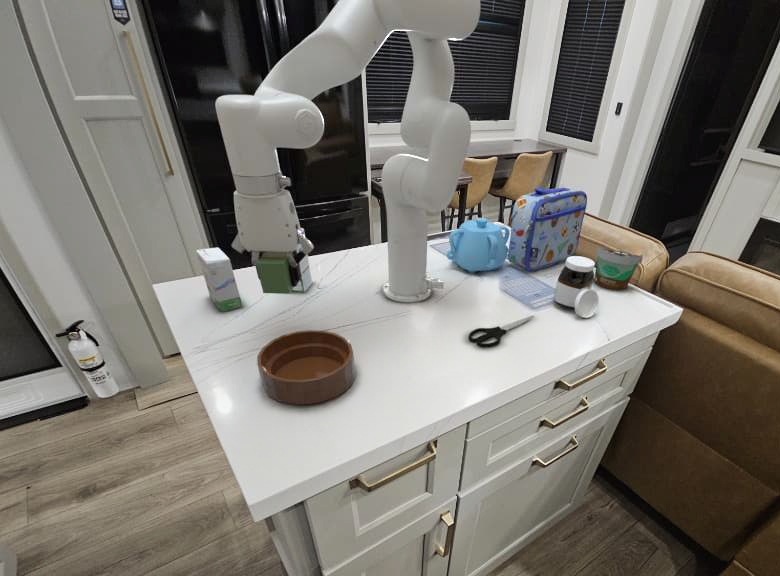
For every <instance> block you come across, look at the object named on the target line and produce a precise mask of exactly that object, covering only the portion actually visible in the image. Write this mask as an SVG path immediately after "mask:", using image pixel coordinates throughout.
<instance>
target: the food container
mask: <svg viewBox="0 0 780 576" xmlns="http://www.w3.org/2000/svg"><path fill="white" fill-rule="evenodd" d="M596 255H597V261H596V267H595V272H594V279H593V283H594V284H595V285H597V286H599V288H602V289H605V290H609V291H623V290H626V289H627V288H628V286H629V284H630V282H631V279H632V277H633V276H634V273H635V271H636V269H637V267H638V265H640V264H641V263H642V262H643V258H644V255H643V252H642V253H641V254H640V255H637V254H631V253H629V252H625V251H622V250H610V249H605V248H602V246H601V245H599V247H598V248H597V250H596Z"/></svg>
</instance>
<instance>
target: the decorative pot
mask: <svg viewBox="0 0 780 576" xmlns="http://www.w3.org/2000/svg"><path fill="white" fill-rule="evenodd" d="M503 230H504V233H503ZM510 236H511V231H510V230H509V228H508V227H507V226H506V225H501V224H500V225H498V224H495V223H493V222H491V221H489V219H487V218H484V217H477V218H475V220H473V219H468V220H465V222H463V223H461V224H460V226H459V227H458V228H456V229H454V230H452V231H451V232H450V234H449V236H448V240H449V245H450V250H448V251H447V253H446V258H447V259H448V260H450V261H454V262H455V263H456V265H458V266H459V268H462V269H464V270H467V272H468V273H471V274H472V273H473V274H475V273H477V272H478V271H481V272H482V271H496V270H497V269H498V268H500V267H501V266H502V265H503V264H504V263H505V261H506V259H507V255H508V250H509V246H507V242H509V241H508V240H509V239H510Z"/></svg>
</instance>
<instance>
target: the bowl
mask: <svg viewBox="0 0 780 576" xmlns="http://www.w3.org/2000/svg"><path fill="white" fill-rule="evenodd" d="M354 355H355V354H354V350H353V346H352V344H351V342H349V340H347V338H345V337H344V336H342V335H340V334H338V333H335V332H331V331H326V330H316V329H315V330H313V329H312V330H311V329H309V330H299V331H293V332H290V333H287V334H284V335H280V336H278V337H275V338H274V339H272V340H270V341H269V342H268V343H267V344H266V345H263V347H262V348H261V350H260V351H259V353H258V354H257V358H256V360H257V361H256V365H257V368H258V372H259V375H260V379H261V383H262V387H263V388H264V391H266V393H267V395H269V396H270V397H272V398H273V399H274V400H277V401H279V402H283V403H287V404H291V405H310V404H316V403H322V402H325V401H327V400H330V399H333V398H336V397H338V396H339V395H340V394H342V393H343V392H345V391H346V390H348V388H349V387H350V386H351V385H352V383H353V382H354V379H355V377H356V376H355V375H356V368H355V367H356V365H355V356H354Z"/></svg>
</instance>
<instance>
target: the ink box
mask: <svg viewBox="0 0 780 576" xmlns="http://www.w3.org/2000/svg"><path fill="white" fill-rule="evenodd" d="M195 252H196V256H197V260H198V262H199V265H200V268H201V271H202V275H203V278H204V281H205V285H206V288H207V291H208V294H209V297H210V299H211V300H212V302H213V303H214V304H215V306H216V307H217V308H218V309H219V311H220V312H223V313H225V312H228V311H232V310H236V309H239V308H243V307H244V306H243V302H242V299H241V296H240V292H239V289H238V285H237V280H236V277H235V274H234V270H233V266H232V263H231V259H230V258H229V257H228V256H227V254H225V252H224V251H222V250H221V248H220V247H209V248H201V249H197V250H196V251H195Z"/></svg>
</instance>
